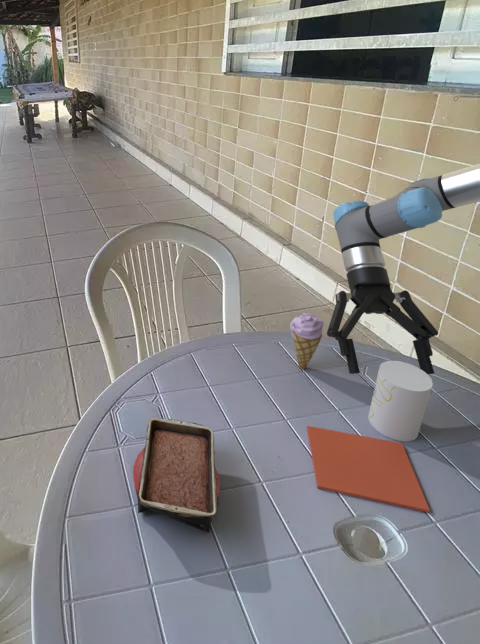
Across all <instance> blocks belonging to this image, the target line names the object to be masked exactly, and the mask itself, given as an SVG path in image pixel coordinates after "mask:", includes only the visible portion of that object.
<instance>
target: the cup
mask: <svg viewBox="0 0 480 644" xmlns="http://www.w3.org/2000/svg"><path fill="white" fill-rule="evenodd" d="M378 367H379V368H378V372H377V376H376V379H375V384H374V389H373V393H372V398H371V402H370V406H369V411H368V416H367V418H368V421H369V424H370V425H371V426H372V427H373V429H375V430H376V431H377V432H378V433H379V434H381V435H382V436H385V437H387V438H388V439H391V440H393V441H396V442H405V443H407V442H412V441H414V440H416V439H417V438H418V436H419V433H420V430H421V426H422V423H423V419H424V416H425V412H426V409H427V406H428V403H429V399H430V395H431V393H432V388H433V385H434V383H433V380H432V377H431V376H430V374H427V373H425V372H424V371H423V370H421V369H420V367H418V366H416V365H413V364H411V363H408V362H405V361H399V360H386V361H384V362H381V364H379V366H378Z"/></svg>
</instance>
